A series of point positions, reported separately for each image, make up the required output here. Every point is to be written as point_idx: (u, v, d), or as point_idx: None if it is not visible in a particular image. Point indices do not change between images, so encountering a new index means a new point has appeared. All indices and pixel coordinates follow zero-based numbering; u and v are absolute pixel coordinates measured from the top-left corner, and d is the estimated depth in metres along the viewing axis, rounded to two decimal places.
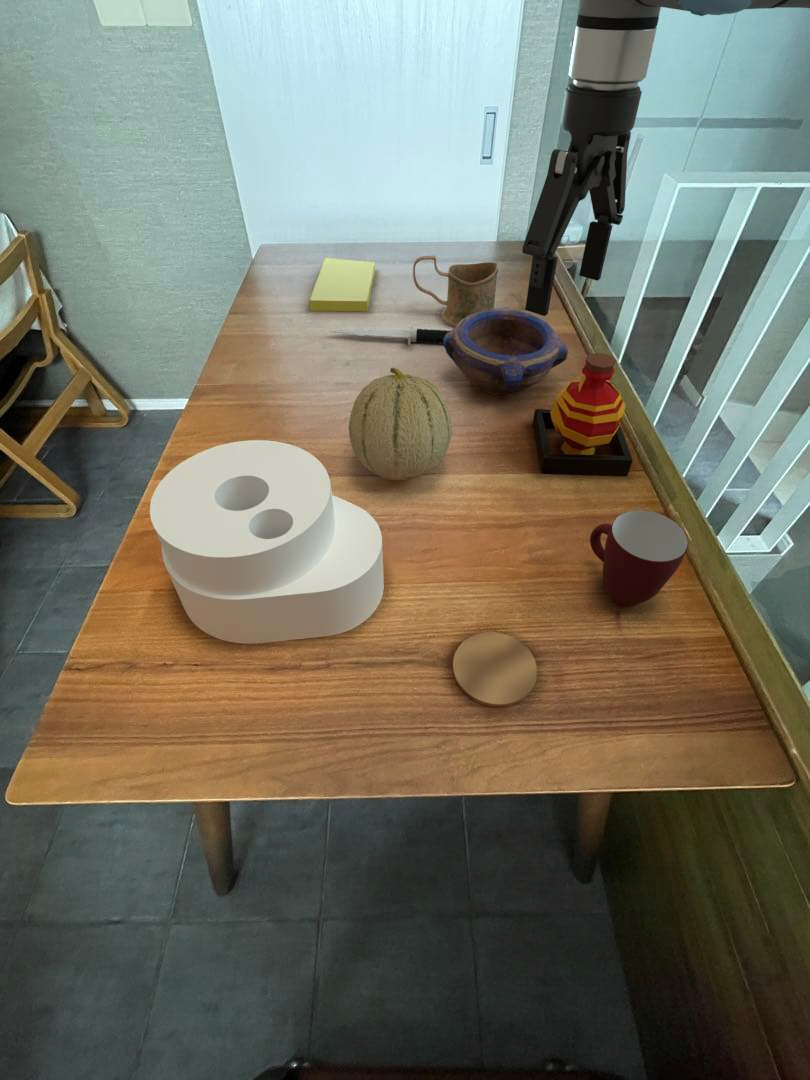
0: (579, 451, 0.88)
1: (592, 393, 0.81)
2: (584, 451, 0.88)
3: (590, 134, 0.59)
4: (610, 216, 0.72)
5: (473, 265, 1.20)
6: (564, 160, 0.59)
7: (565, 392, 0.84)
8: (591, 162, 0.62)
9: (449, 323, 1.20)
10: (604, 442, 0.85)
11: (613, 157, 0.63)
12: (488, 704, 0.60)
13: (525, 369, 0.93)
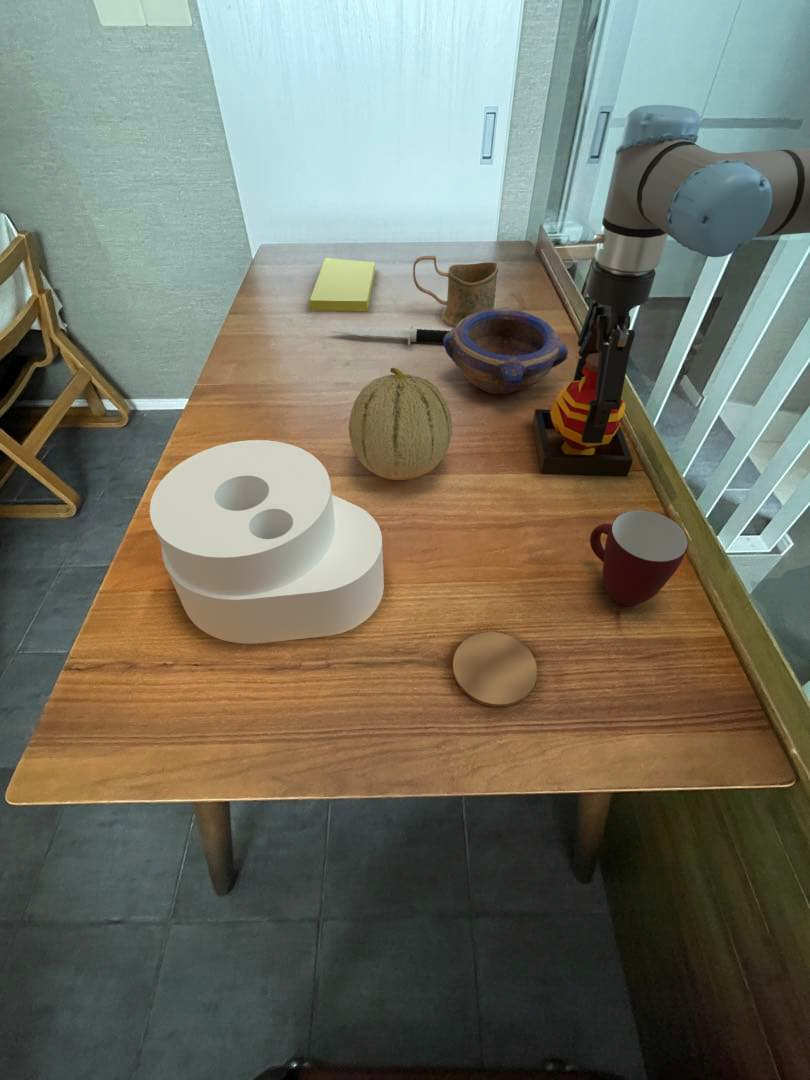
0: (579, 451, 0.88)
1: (592, 393, 0.81)
2: (584, 451, 0.88)
3: (632, 307, 0.71)
4: (598, 352, 0.85)
5: (473, 265, 1.20)
6: (626, 338, 0.70)
7: (565, 392, 0.84)
8: None
9: (449, 323, 1.20)
10: (604, 442, 0.85)
11: None
12: (488, 704, 0.60)
13: (525, 369, 0.93)
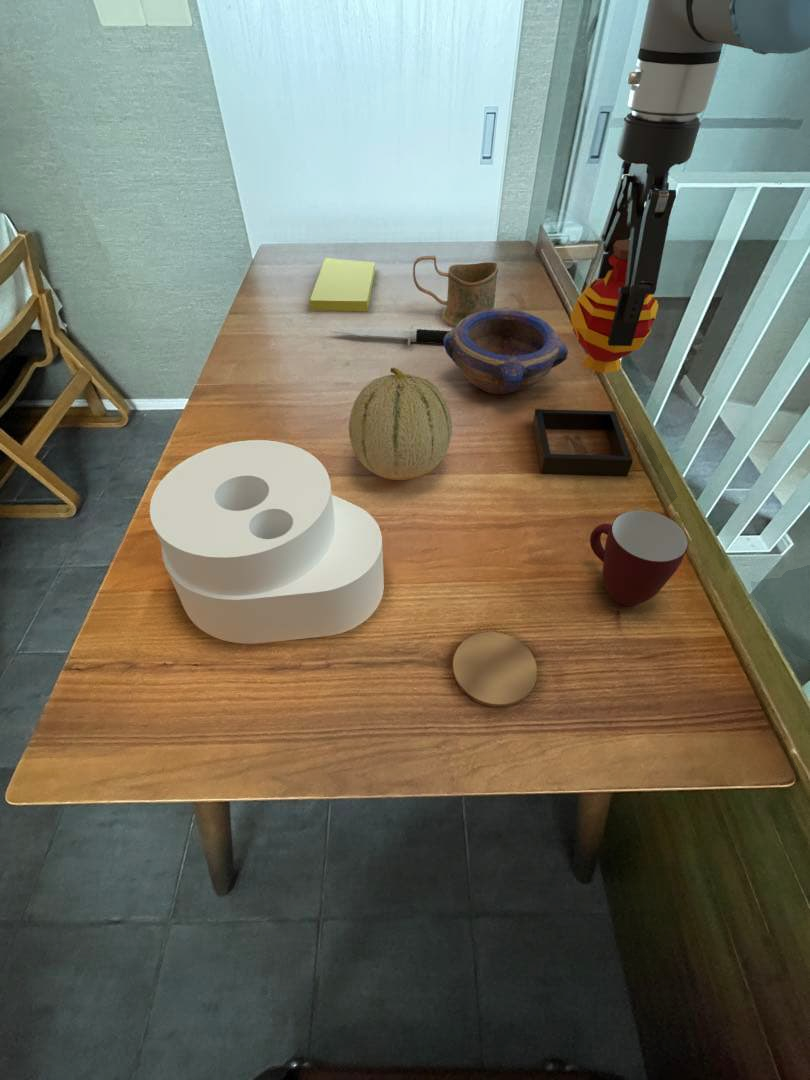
0: (603, 363, 0.77)
1: None
2: (609, 363, 0.77)
3: (672, 164, 0.60)
4: None
5: (473, 265, 1.20)
6: (666, 200, 0.59)
7: (588, 289, 0.72)
8: None
9: (449, 323, 1.20)
10: (633, 348, 0.73)
11: None
12: (488, 704, 0.60)
13: (525, 369, 0.93)
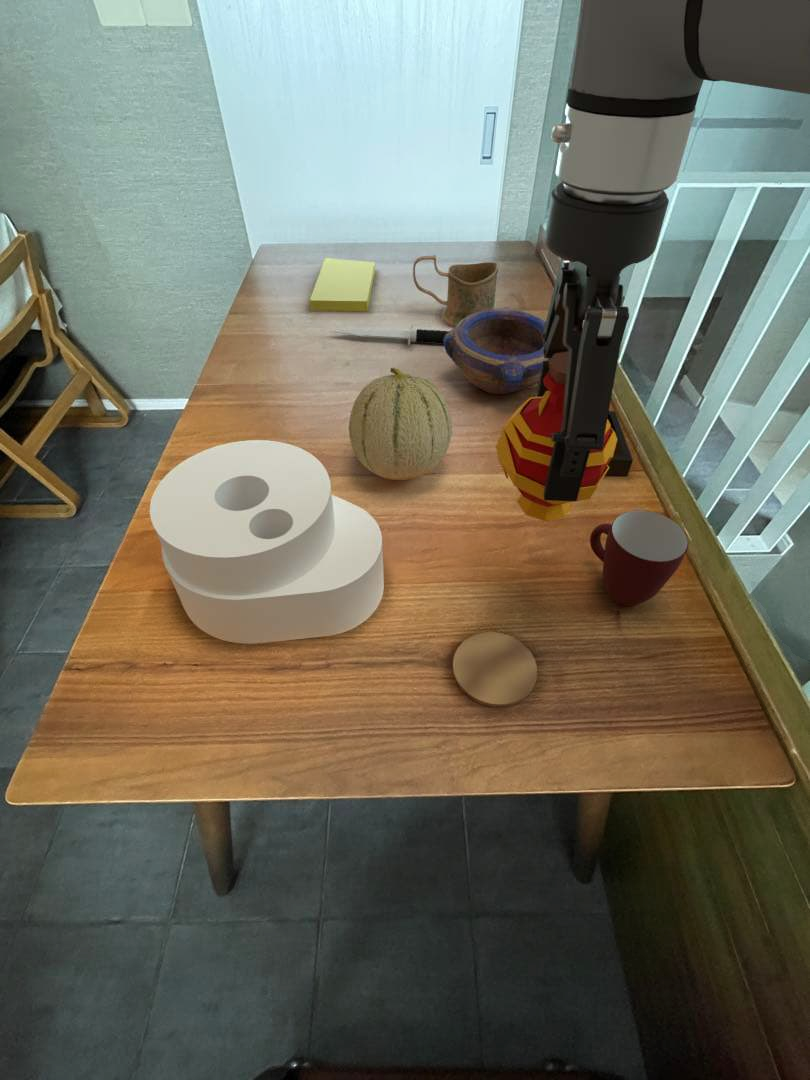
0: (544, 508, 0.56)
1: (560, 419, 0.49)
2: (552, 508, 0.56)
3: (625, 265, 0.38)
4: None
5: (473, 265, 1.20)
6: (613, 322, 0.38)
7: (518, 416, 0.51)
8: None
9: (449, 323, 1.20)
10: (582, 497, 0.52)
11: None
12: (488, 704, 0.60)
13: (525, 369, 0.93)
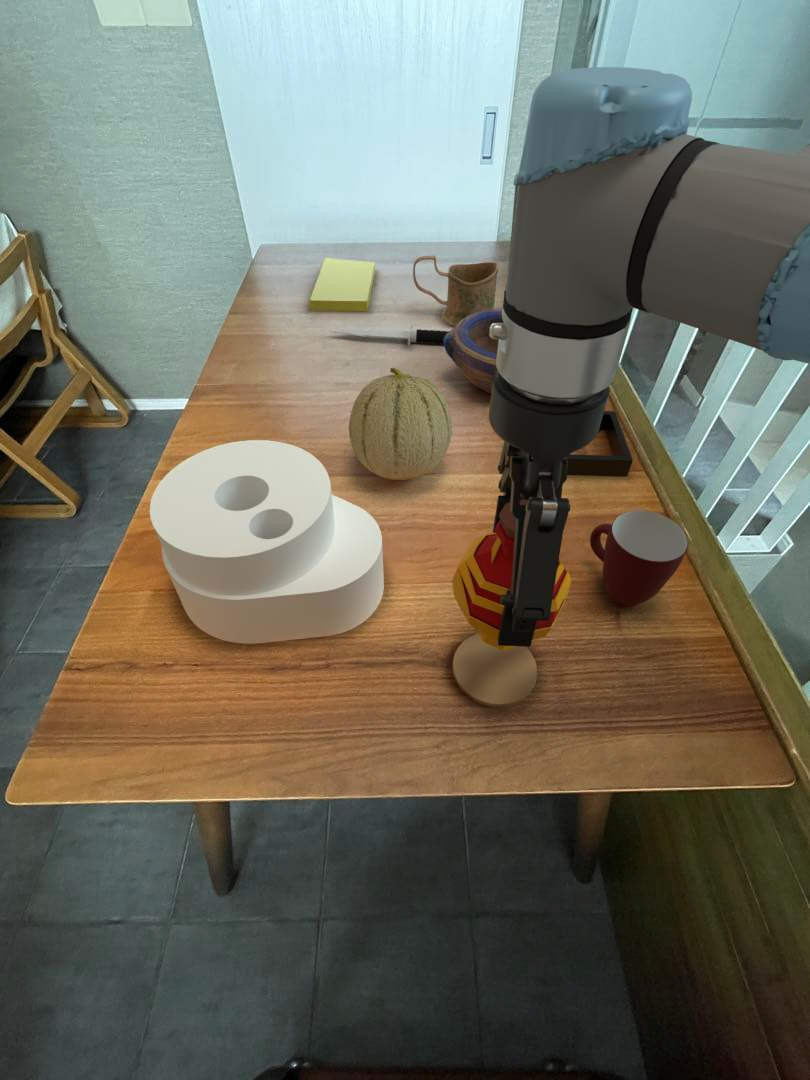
0: None
1: None
2: None
3: (566, 454, 0.38)
4: None
5: (473, 265, 1.20)
6: (554, 515, 0.37)
7: (471, 558, 0.51)
8: None
9: (449, 323, 1.20)
10: (537, 637, 0.52)
11: None
12: (488, 704, 0.60)
13: None
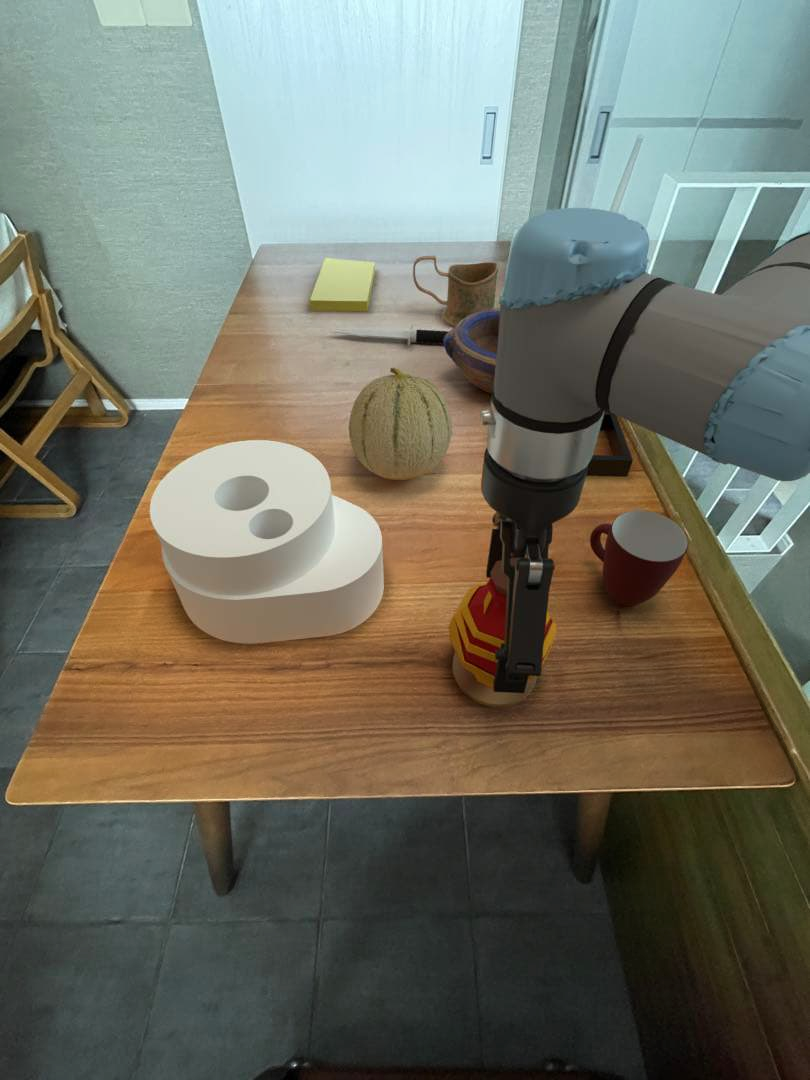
0: None
1: (502, 619, 0.53)
2: None
3: (550, 523, 0.42)
4: None
5: (473, 265, 1.20)
6: (540, 573, 0.41)
7: (466, 609, 0.56)
8: None
9: (449, 323, 1.20)
10: None
11: None
12: (488, 704, 0.60)
13: None
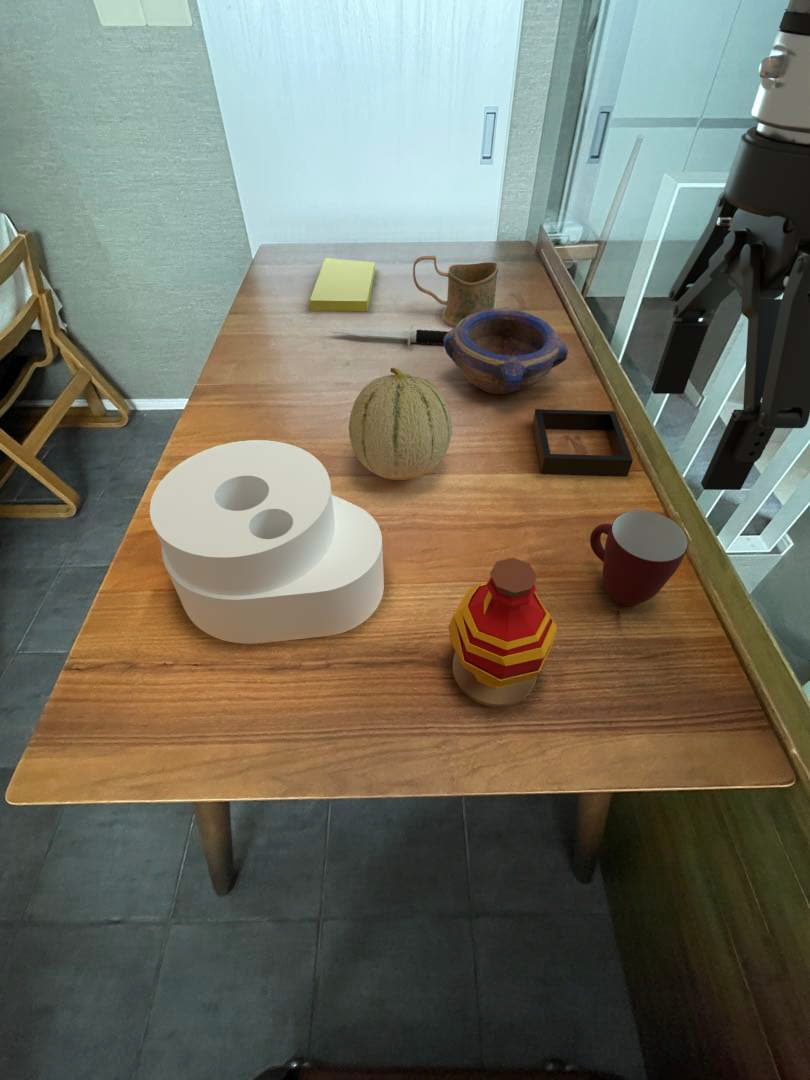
0: None
1: (502, 619, 0.53)
2: None
3: None
4: (710, 311, 0.48)
5: (473, 265, 1.20)
6: None
7: (466, 609, 0.56)
8: None
9: (449, 323, 1.20)
10: (526, 679, 0.57)
11: None
12: (488, 704, 0.60)
13: (525, 369, 0.93)
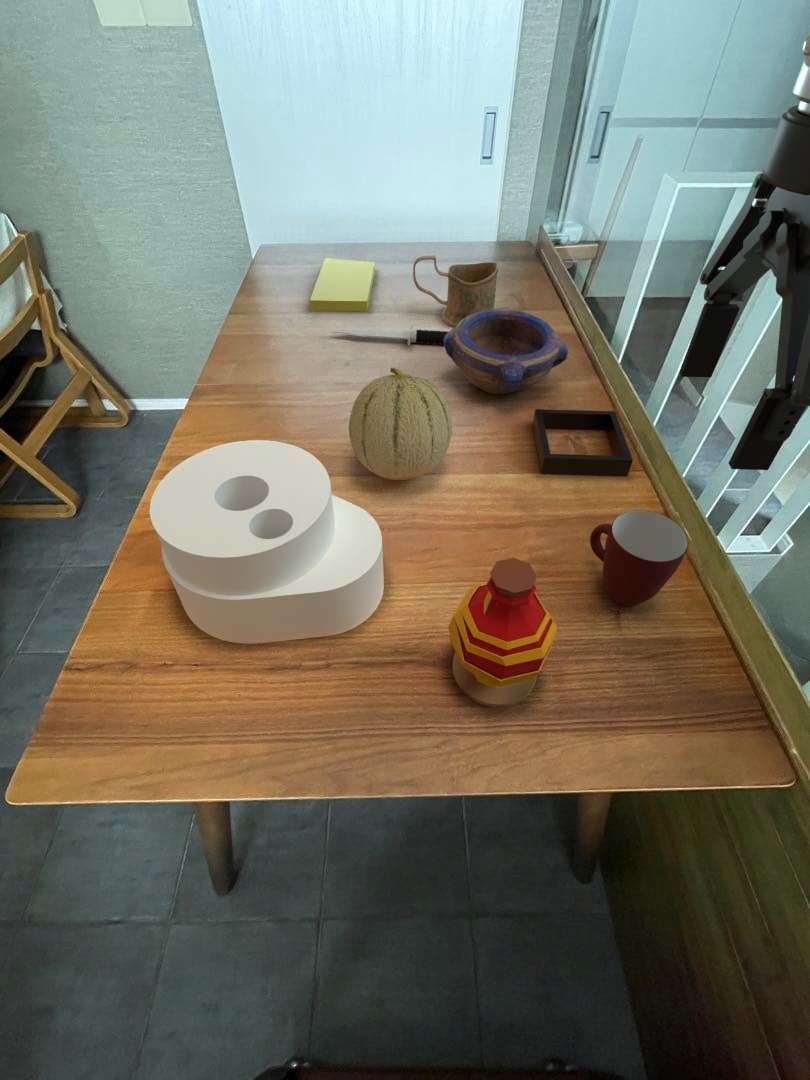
0: None
1: (502, 619, 0.53)
2: None
3: None
4: (741, 294, 0.49)
5: (473, 265, 1.20)
6: None
7: (466, 609, 0.56)
8: None
9: (449, 323, 1.20)
10: (526, 679, 0.57)
11: None
12: (488, 704, 0.60)
13: (525, 369, 0.93)
